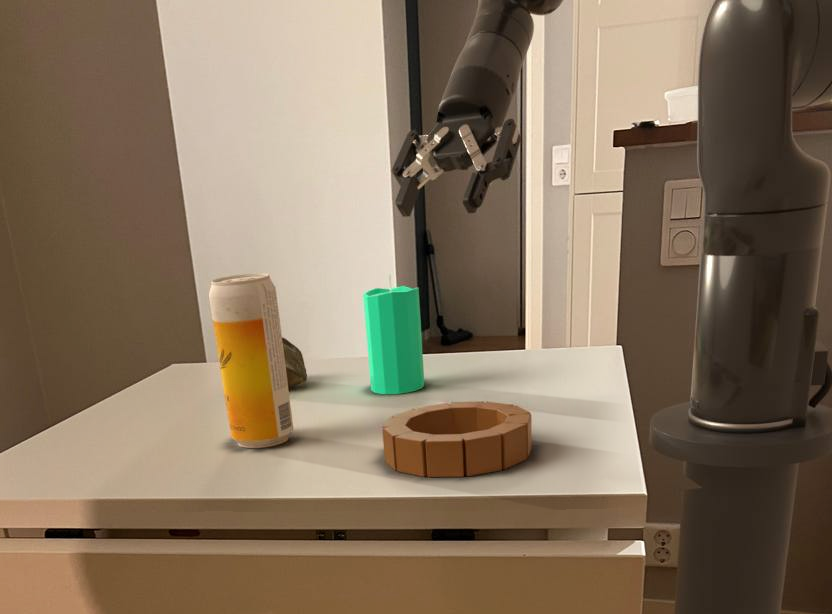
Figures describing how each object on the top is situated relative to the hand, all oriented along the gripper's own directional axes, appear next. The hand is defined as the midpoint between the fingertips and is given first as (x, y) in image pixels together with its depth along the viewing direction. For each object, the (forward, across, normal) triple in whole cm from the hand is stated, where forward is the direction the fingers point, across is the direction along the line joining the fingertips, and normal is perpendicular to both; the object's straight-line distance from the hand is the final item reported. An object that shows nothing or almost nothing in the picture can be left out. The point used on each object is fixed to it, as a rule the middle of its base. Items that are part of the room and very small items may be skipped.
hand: (434, 210), depth 106 cm
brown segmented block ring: (+34, +19, -9) cm, 40 cm away
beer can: (+35, -2, -10) cm, 36 cm away
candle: (+20, 0, +5) cm, 20 cm away
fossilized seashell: (+21, -16, +3) cm, 27 cm away
